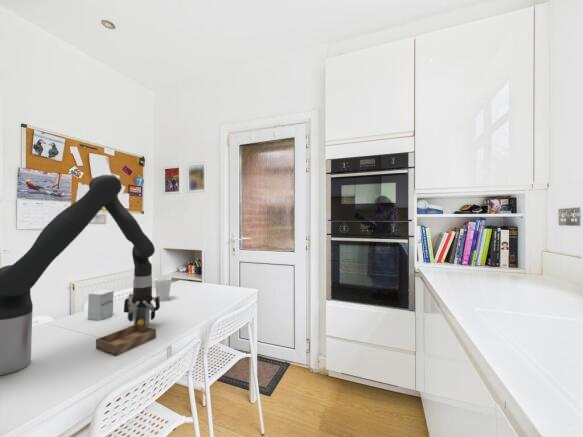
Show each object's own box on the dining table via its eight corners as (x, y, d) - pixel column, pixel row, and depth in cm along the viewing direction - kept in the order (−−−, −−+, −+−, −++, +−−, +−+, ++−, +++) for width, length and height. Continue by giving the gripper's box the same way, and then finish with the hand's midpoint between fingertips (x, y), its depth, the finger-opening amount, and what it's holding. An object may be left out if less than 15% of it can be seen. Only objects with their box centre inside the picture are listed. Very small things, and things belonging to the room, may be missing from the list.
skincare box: (127, 319, 123) (127, 294, 123) (130, 315, 127) (130, 291, 127) (141, 317, 124) (142, 293, 125) (144, 314, 129) (144, 291, 129)
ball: (141, 328, 113) (139, 325, 111) (136, 324, 114) (134, 321, 112) (147, 322, 116) (145, 320, 113) (142, 318, 116) (140, 316, 114)
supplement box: (99, 320, 120) (100, 294, 120) (87, 319, 122) (87, 293, 122) (113, 315, 127) (114, 290, 128) (101, 314, 129) (102, 289, 129)
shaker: (137, 324, 117) (137, 307, 117) (149, 323, 118) (149, 306, 118) (133, 328, 112) (134, 310, 112) (146, 327, 113) (146, 310, 113)
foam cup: (154, 298, 156) (155, 277, 156) (171, 296, 160) (171, 276, 160) (153, 303, 147) (154, 280, 147) (170, 301, 151) (171, 279, 151)
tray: (115, 356, 89) (115, 346, 89) (95, 348, 94) (96, 339, 94) (155, 337, 104) (156, 329, 104) (137, 331, 109) (137, 323, 109)
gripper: (122, 288, 110) (121, 325, 109) (157, 286, 114) (157, 321, 113) (128, 283, 117) (127, 318, 117) (161, 282, 121) (160, 315, 121)
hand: (142, 320), depth 115 cm, fingers open, 8 cm apart
